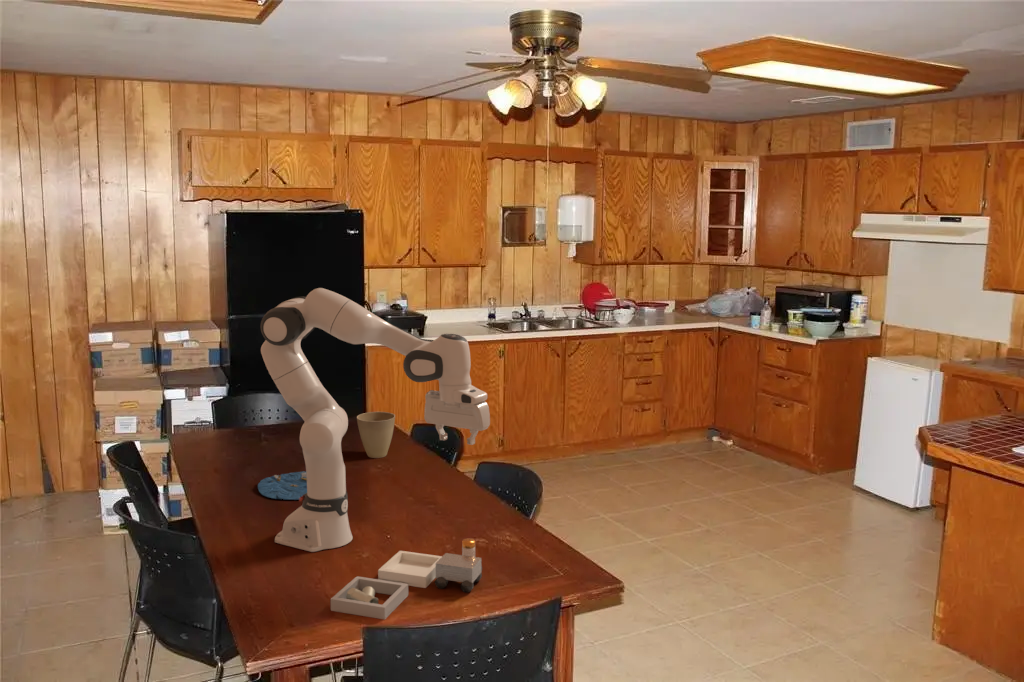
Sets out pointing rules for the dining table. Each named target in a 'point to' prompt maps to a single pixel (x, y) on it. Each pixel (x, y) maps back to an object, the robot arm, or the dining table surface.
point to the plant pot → (376, 432)
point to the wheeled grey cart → (458, 571)
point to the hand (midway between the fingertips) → (457, 442)
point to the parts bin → (366, 608)
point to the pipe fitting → (362, 595)
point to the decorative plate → (284, 486)
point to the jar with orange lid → (468, 547)
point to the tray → (410, 569)
